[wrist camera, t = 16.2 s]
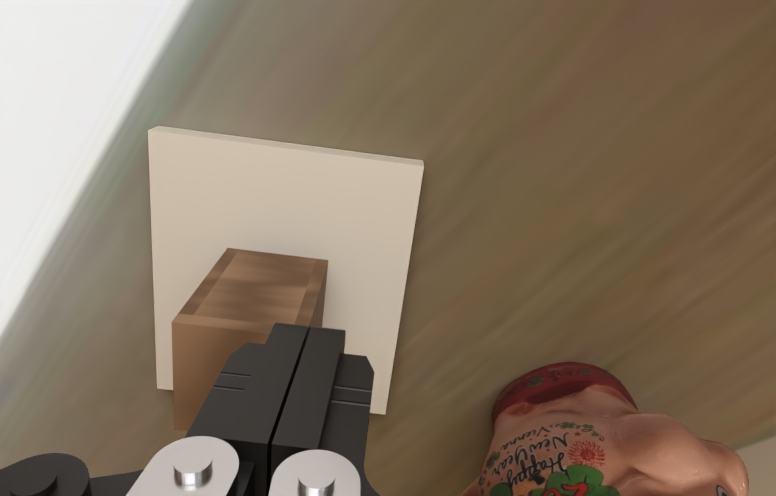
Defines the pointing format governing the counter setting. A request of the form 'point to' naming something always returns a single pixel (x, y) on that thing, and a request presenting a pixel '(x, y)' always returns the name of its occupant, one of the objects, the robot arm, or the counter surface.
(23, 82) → the counter surface
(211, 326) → the brown wooden block
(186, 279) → the post board
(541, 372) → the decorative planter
